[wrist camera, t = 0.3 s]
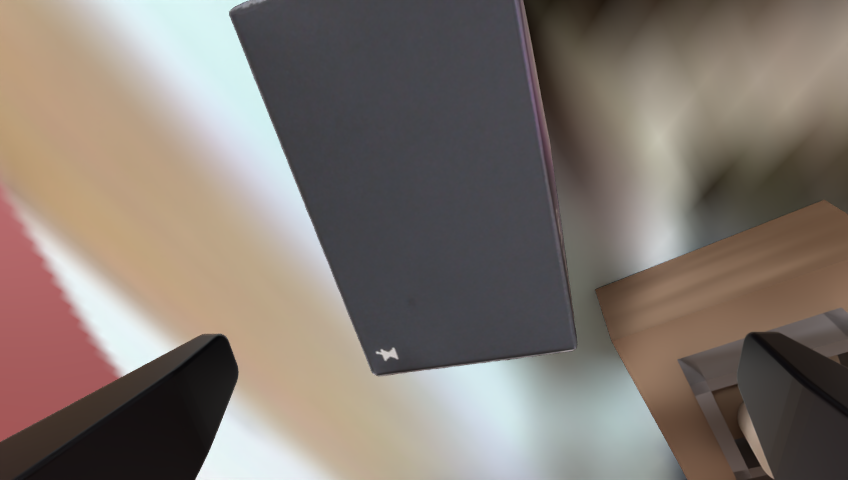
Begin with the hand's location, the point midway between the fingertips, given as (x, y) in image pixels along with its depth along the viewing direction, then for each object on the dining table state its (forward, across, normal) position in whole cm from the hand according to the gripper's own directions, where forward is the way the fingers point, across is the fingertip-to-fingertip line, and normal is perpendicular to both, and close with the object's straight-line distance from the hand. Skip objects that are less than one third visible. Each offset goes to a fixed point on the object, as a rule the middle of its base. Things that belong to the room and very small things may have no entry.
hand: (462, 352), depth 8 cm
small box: (+14, +1, -1) cm, 15 cm away
